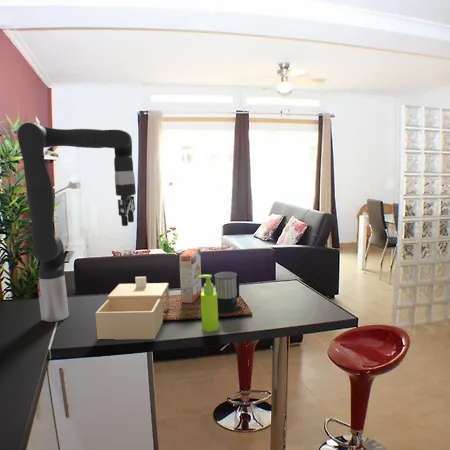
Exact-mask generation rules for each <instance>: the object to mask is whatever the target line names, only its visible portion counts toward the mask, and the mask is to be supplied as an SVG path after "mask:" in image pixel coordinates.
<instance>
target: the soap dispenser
mask: <svg viewBox="0 0 450 450" xmlns="http://www.w3.org/2000/svg"><path fill="white" fill-rule="evenodd" d="M197 278H198V279H199V278H201V279H205V283H204V284H203V291H201V294H200V307H201V309H200V311H201V328H202V329H201V330H202V331H204V332H208V333H210V332H212V333H213V332H216V331H217V330H218V329H219V313H218V304H217V293H216V291H215V290H214V283H212V282H211V281H212V279H211V278H213V275H212V274H201V275H199V276H197Z"/></svg>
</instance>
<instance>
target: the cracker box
mask: <svg viewBox="0 0 450 450" xmlns="http://www.w3.org/2000/svg"><path fill="white" fill-rule="evenodd" d="M201 259H202V258H201V249H200V248H188V249H186V250H185V251H184V252H183V253H181V254H179V279H180V280H179V281H180V302H181V303H184V304H194V302H196V301H197V298H199V296H201V293H202V278H199V279H198V278H197V276H199V275H202V272H201V270H202V269H201V268H202V267H201V266H202V265H201V262H202V261H201Z"/></svg>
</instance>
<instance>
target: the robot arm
mask: <svg viewBox="0 0 450 450" xmlns="http://www.w3.org/2000/svg"><path fill="white" fill-rule="evenodd" d="M18 127H19V128H18V129H17V134H16V135H17V142H18V145H19V150H20V153H21V154H20V155H21V157H22V162H23V163H22V164H23V170H24V179H25V189H26V190H25V191H26V198H27V203H28V204H27V205H28V210H29V211H28V212H29V215H30V221H31V229H32V252H33V255H34V256H35V258H36V259H37V260H39V268H38V273H37V274H38V281H39V282H38V283H39V289H40V296H39V297H38V302H39V309H40V310H39V311H40V317H41V321H44V322H47V323H53V322H59V321H63V320H65V319H67V318H68V317H69V313H70V312H69V307H68V306H69V305H68V304H69V303H68V294H67V286H66V277H65V276H66V275H65V265H66V264H65V263H66V261H65V249H64V243H63V241H62V239H61V238H60V237H59V236H58V235H55V231H54V223H53V222H54V215H55V214H54V213H55V206H56V205H55V203H56V200H55V192H54V191H55V190H54V185H53V181H52V178H51V175H50V172H49V170H48V168H47V164H46V161H45V153H44V148H52V147H53V148H54V147H74V148H87V149H88V148H89V149H105V148H106V149H114V159H113V165H114V185H115V186H114V187H115V195H116V196H119V197H120V199H117V208H118V216H120V217H121V218H120V219H121V225H122V227H127V226H129V223H134V222H135V219H134V218H135V217H134V216H135V215H134V212H135V210H136V205H135V195H136V193H137V192H136V180H135V179H136V177H135V174H134V162H133V144H132V143H133V141H132V135H130V133H129V132H127V131H126V130H124V129H96V128H72V129H71V128H69V129H66V128H65V129H64V128H63V129H61V128H52V127H47V126H43V125H40V124H38V123H34V122H24V123H22V124H21V125H20V126H18Z"/></svg>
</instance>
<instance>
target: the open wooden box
mask: <svg viewBox="0 0 450 450" xmlns="http://www.w3.org/2000/svg"><path fill="white" fill-rule="evenodd" d="M169 293H170V292H169V286H168V287H167V289H166V290H165V292H164V294H163V296H162V297H147V298H108V297H107V298H108V299H107V300H106V301H105V302H104V303H103V304H102V305H101V306H100V307H99V308H98V309H97V311H96V312H95V324H96V325H95V326H96V334H97V335H96V336H97V340H99V339H114V340H155V339H156V338H157V336H156V335H158V334H157V333H159V331H160V329H161V328H162V324H163V322H164V321H163V306H162V304H163V303H162V302H163V301H162V300H163V298H164V296H165V299H166V301H165V302H166V310H170V294H169ZM99 341H100V340H99Z"/></svg>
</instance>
